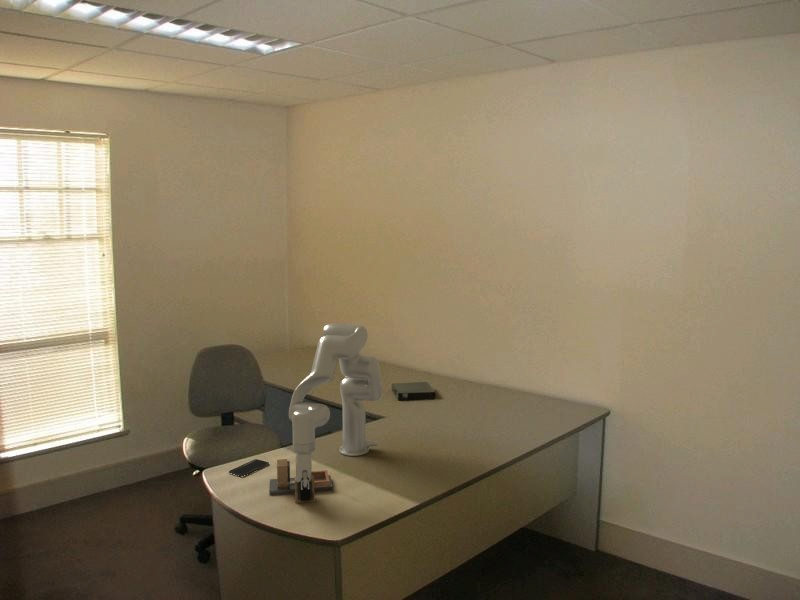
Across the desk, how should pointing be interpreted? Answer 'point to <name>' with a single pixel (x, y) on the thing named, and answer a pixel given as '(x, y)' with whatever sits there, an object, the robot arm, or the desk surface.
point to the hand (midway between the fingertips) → (304, 494)
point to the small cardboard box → (298, 487)
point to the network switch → (413, 391)
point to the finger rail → (288, 484)
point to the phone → (249, 467)
